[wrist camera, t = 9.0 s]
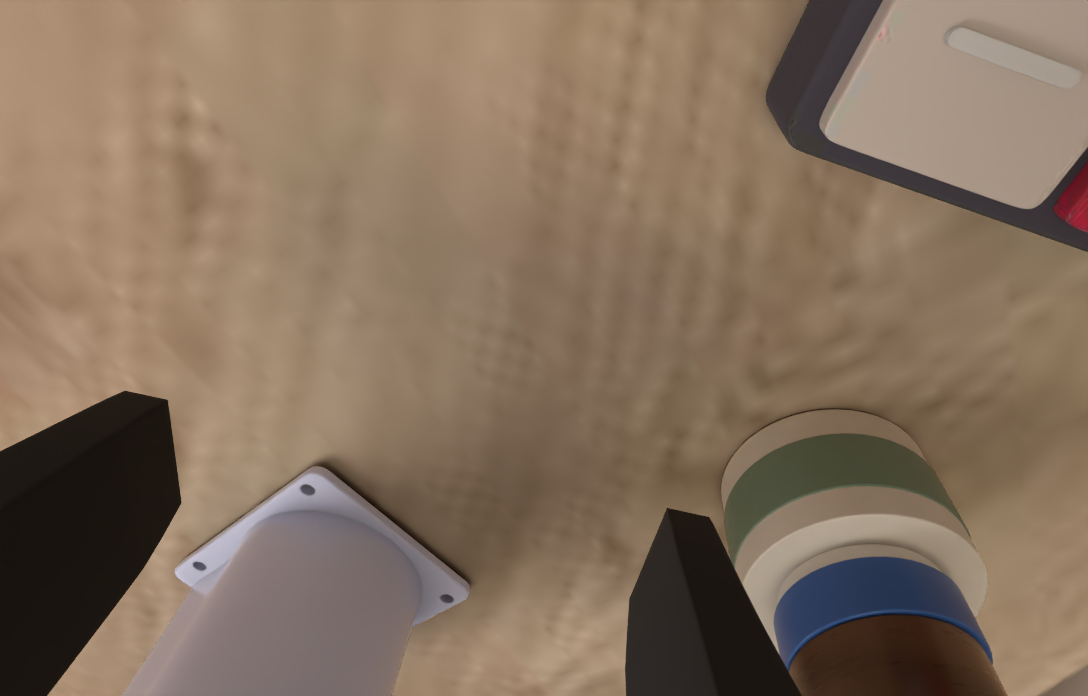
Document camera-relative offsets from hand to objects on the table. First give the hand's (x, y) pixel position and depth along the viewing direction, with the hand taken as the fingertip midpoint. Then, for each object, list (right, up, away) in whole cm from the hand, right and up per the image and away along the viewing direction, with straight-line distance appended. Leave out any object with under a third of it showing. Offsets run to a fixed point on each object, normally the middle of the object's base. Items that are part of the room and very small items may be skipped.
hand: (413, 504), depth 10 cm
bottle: (+11, -2, +12) cm, 17 cm away
